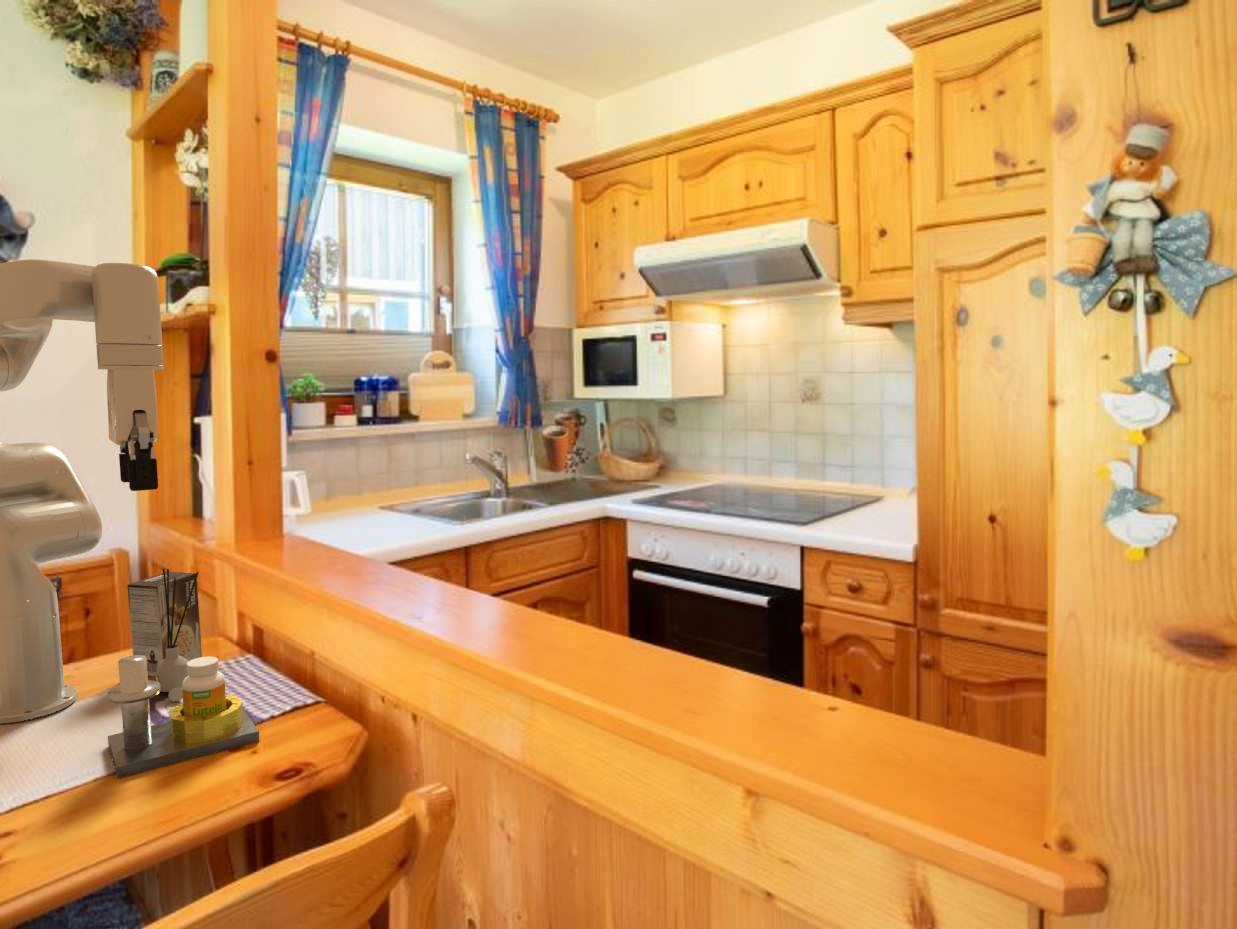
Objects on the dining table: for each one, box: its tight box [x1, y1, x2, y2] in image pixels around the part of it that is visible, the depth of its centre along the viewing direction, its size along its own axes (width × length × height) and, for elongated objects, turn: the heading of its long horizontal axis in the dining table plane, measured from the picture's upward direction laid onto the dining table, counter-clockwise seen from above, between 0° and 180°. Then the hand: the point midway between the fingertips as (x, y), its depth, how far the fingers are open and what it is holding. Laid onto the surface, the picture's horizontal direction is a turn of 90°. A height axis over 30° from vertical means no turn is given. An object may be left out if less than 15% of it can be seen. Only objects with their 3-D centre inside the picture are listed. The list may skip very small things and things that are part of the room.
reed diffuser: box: [155, 568, 199, 702], centre depth 127 cm, size 10×7×20 cm
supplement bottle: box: [182, 656, 226, 718], centre depth 111 cm, size 5×5×10 cm
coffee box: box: [126, 571, 203, 677], centre depth 138 cm, size 9×6×16 cm
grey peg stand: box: [107, 654, 260, 779], centre depth 109 cm, size 17×11×14 cm, turn 128°
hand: (139, 485), depth 107 cm, fingers open, 9 cm apart
